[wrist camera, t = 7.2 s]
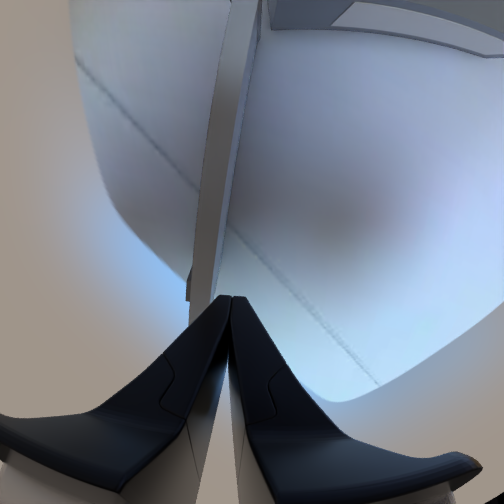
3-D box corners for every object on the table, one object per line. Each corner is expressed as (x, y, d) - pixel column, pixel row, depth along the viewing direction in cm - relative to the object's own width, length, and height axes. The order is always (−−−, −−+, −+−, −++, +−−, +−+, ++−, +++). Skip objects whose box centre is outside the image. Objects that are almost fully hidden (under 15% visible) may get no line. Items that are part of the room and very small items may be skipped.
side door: (221, 265, 18) (208, 335, 13) (198, 261, 18) (176, 329, 13) (261, 28, 12) (264, -14, 6) (233, 25, 12) (220, -18, 6)
